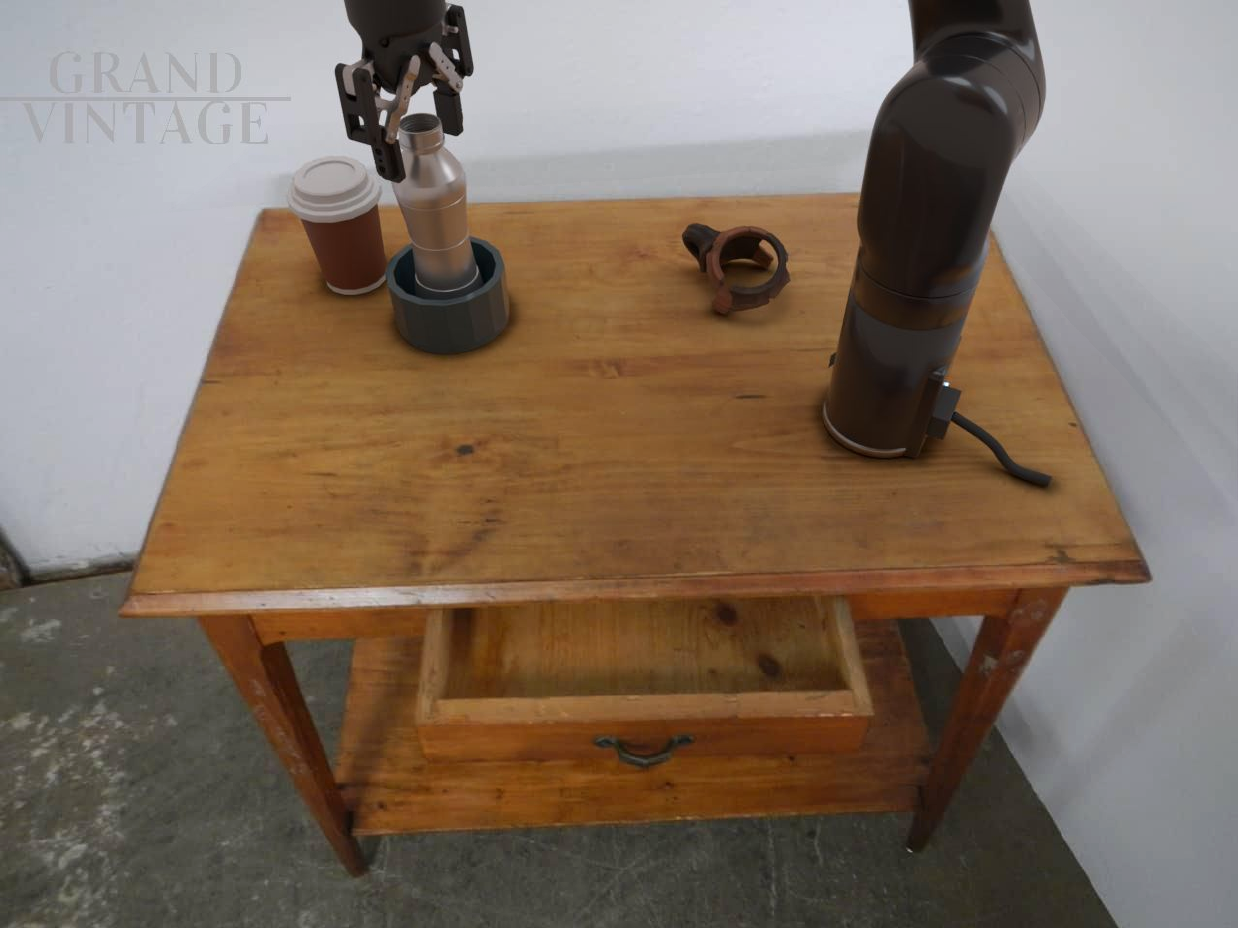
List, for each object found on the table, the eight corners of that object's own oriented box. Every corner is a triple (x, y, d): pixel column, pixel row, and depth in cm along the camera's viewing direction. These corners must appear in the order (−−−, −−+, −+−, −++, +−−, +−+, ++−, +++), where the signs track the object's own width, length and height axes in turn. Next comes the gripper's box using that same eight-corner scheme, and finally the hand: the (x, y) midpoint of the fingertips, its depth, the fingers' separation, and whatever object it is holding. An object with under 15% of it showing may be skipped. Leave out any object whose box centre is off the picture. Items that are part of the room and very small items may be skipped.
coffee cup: (297, 296, 97) (263, 194, 88) (335, 245, 102) (307, 144, 94) (379, 308, 95) (353, 206, 86) (413, 256, 101) (392, 155, 92)
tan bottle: (476, 335, 91) (445, 146, 76) (410, 327, 92) (367, 139, 77) (495, 294, 95) (469, 108, 80) (432, 287, 96) (395, 101, 81)
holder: (530, 301, 96) (525, 252, 91) (469, 367, 89) (460, 318, 85) (439, 271, 99) (430, 223, 95) (374, 333, 93) (361, 284, 88)
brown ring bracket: (797, 273, 99) (812, 240, 91) (754, 348, 97) (766, 321, 89) (697, 221, 100) (703, 183, 92) (654, 293, 99) (656, 262, 91)
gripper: (367, -1, 63) (410, 208, 75) (482, -70, 72) (504, 127, 84) (281, -20, 66) (336, 185, 78) (402, -85, 74) (435, 109, 86)
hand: (423, 155), depth 81 cm, fingers open, 8 cm apart
